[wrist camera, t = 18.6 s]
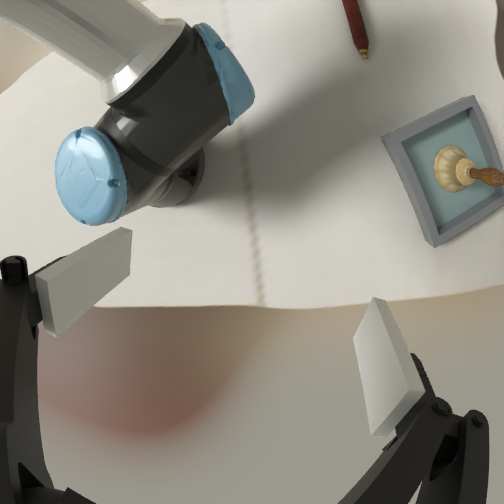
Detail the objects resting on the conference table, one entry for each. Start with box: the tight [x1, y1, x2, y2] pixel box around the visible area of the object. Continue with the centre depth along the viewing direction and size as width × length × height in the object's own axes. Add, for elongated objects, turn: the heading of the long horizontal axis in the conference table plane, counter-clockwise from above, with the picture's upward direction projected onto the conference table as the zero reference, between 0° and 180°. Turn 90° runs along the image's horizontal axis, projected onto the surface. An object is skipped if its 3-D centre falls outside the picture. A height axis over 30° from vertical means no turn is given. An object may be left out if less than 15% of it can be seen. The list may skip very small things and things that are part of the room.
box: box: [381, 95, 504, 248], centre depth 38 cm, size 20×20×4 cm
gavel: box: [342, 0, 369, 59], centre depth 32 cm, size 21×5×10 cm
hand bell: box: [433, 145, 504, 192], centre depth 32 cm, size 8×8×16 cm
